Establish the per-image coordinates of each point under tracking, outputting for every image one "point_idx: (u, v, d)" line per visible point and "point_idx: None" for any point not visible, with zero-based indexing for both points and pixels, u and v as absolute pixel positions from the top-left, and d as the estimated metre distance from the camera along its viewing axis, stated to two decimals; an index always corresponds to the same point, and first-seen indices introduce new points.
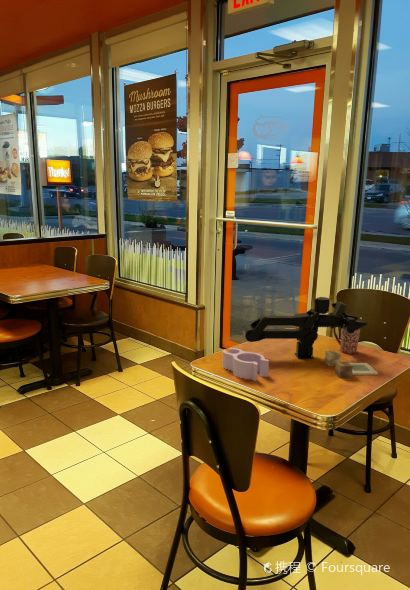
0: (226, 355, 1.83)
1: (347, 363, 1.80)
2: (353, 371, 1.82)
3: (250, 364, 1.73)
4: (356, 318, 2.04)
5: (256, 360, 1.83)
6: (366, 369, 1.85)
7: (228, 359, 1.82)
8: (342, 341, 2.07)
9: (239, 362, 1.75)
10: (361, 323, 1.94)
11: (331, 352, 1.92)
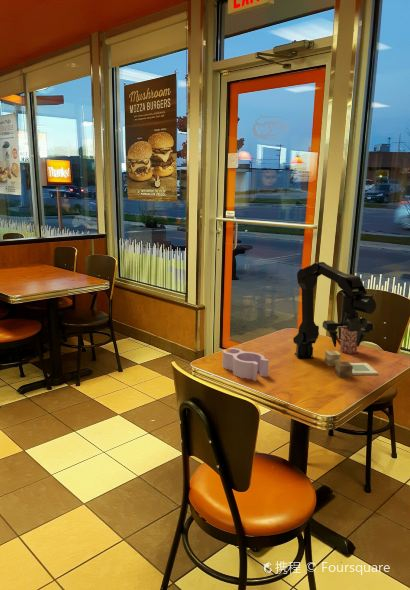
0: (226, 355, 1.83)
1: (347, 363, 1.80)
2: (353, 371, 1.82)
3: (250, 364, 1.73)
4: (357, 344, 1.78)
5: (256, 359, 1.83)
6: (366, 369, 1.85)
7: (228, 359, 1.83)
8: (342, 341, 2.07)
9: (239, 362, 1.75)
10: (333, 340, 1.77)
11: (331, 352, 1.92)
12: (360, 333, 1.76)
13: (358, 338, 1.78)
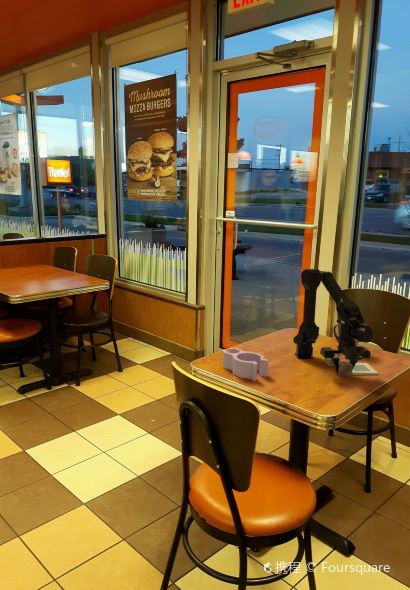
0: (226, 355, 1.83)
1: (347, 363, 1.80)
2: (353, 371, 1.82)
3: (249, 364, 1.73)
4: None
5: (256, 359, 1.83)
6: (366, 369, 1.85)
7: (228, 359, 1.83)
8: None
9: (239, 362, 1.75)
10: (335, 366, 1.79)
11: None
12: (352, 360, 1.78)
13: None
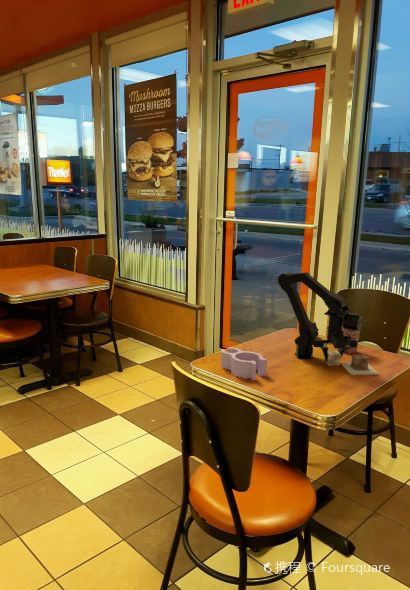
0: (224, 354, 1.83)
1: (363, 355, 1.86)
2: (353, 371, 1.82)
3: (248, 363, 1.74)
4: None
5: (254, 359, 1.84)
6: None
7: (226, 358, 1.83)
8: None
9: (237, 361, 1.75)
10: (324, 355, 1.92)
11: (331, 352, 1.92)
12: (341, 349, 1.91)
13: None
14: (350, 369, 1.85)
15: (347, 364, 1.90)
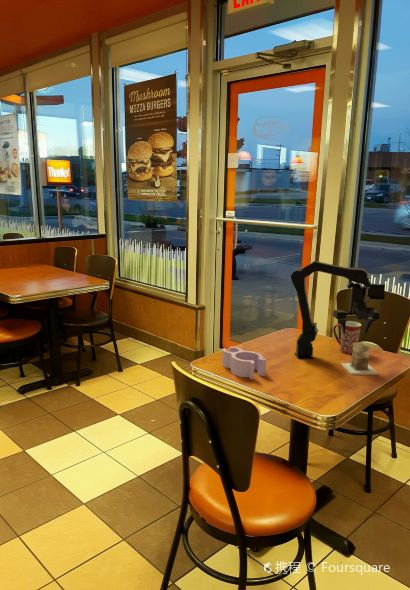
0: (225, 353, 1.85)
1: None
2: (353, 371, 1.82)
3: (247, 363, 1.74)
4: (364, 332, 1.92)
5: (255, 359, 1.84)
6: None
7: (227, 357, 1.84)
8: (342, 341, 2.07)
9: (236, 360, 1.76)
10: (342, 328, 1.91)
11: (359, 344, 1.85)
12: (367, 321, 1.90)
13: (365, 326, 1.91)
14: (350, 369, 1.85)
15: (347, 364, 1.90)
